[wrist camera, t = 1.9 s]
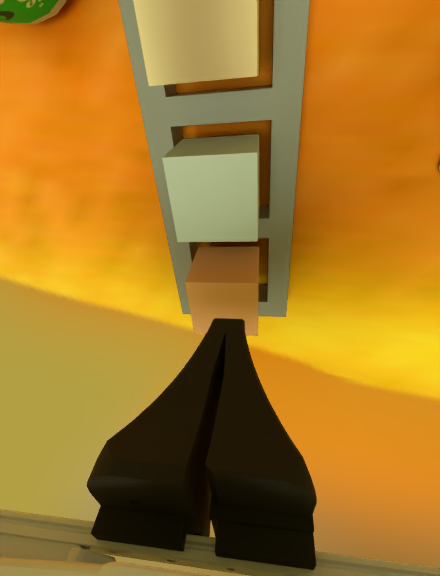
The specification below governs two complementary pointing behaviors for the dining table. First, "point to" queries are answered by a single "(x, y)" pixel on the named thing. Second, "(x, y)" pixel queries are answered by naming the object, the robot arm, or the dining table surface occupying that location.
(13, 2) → the soda can
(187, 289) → the orange brown cube
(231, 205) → the pale green cube
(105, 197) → the dining table surface
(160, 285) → the dining table surface
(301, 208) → the dining table surface
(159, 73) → the maple key
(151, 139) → the button board
